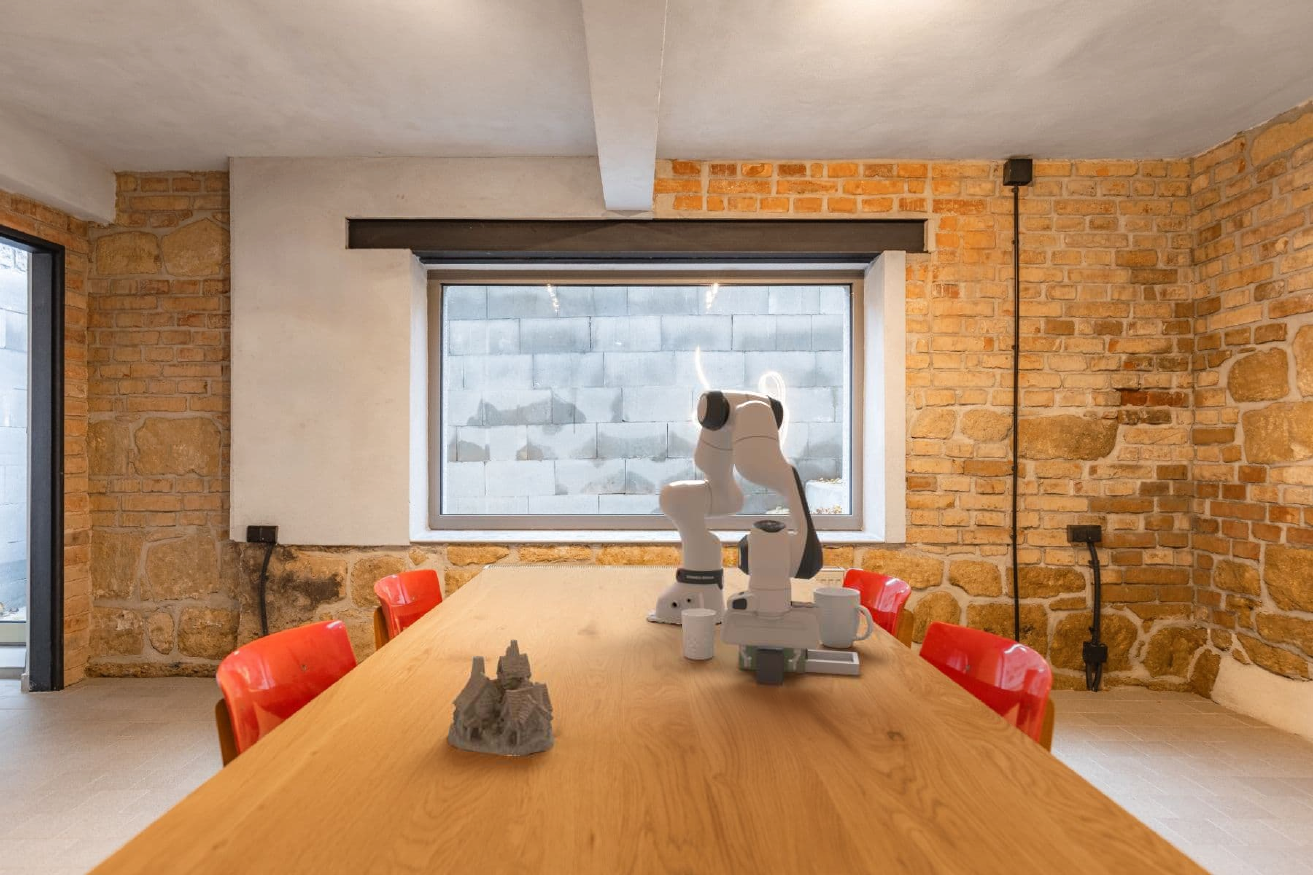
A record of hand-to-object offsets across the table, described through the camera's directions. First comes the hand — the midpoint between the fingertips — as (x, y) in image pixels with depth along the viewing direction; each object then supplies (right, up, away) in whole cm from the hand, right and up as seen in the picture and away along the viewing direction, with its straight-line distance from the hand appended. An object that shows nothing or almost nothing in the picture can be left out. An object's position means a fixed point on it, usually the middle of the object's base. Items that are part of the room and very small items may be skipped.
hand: (770, 667), depth 142 cm
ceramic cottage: (-49, -2, -30) cm, 57 cm away
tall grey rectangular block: (0, -2, 0) cm, 2 cm away
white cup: (-14, -3, +16) cm, 21 cm away
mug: (+21, -3, +24) cm, 32 cm away
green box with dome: (+8, -2, +9) cm, 12 cm away
